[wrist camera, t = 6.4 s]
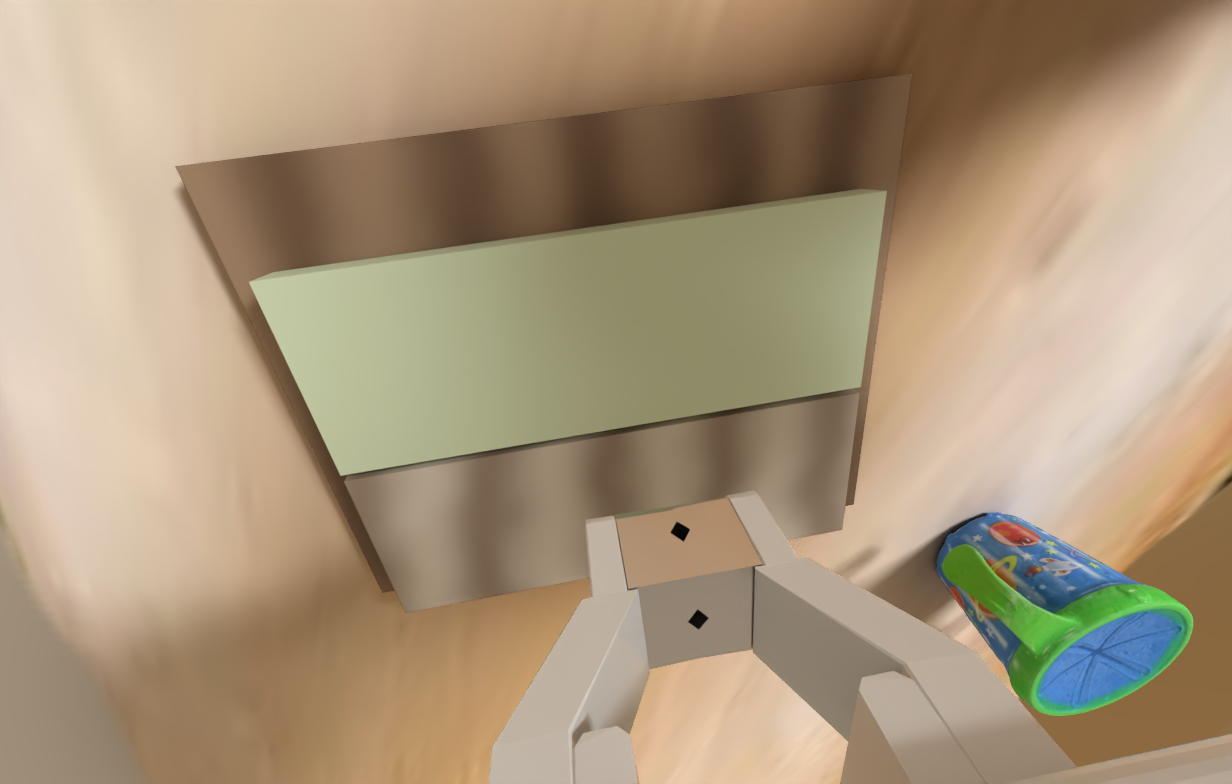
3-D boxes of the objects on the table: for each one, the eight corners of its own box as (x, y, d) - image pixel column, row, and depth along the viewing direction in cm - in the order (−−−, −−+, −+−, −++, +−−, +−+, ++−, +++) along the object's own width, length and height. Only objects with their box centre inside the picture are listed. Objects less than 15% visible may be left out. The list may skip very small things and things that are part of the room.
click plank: (860, 188, 23) (886, 190, 21) (840, 372, 27) (860, 387, 26) (273, 271, 21) (248, 282, 19) (355, 454, 26) (340, 475, 24)
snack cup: (1077, 536, 39) (1239, 648, 30) (977, 616, 42) (1096, 741, 33) (974, 456, 33) (1132, 564, 24) (867, 555, 36) (974, 683, 27)
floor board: (895, 77, 22) (946, 64, 19) (843, 493, 33) (871, 524, 30) (195, 166, 20) (136, 166, 17) (388, 578, 31) (372, 619, 28)
